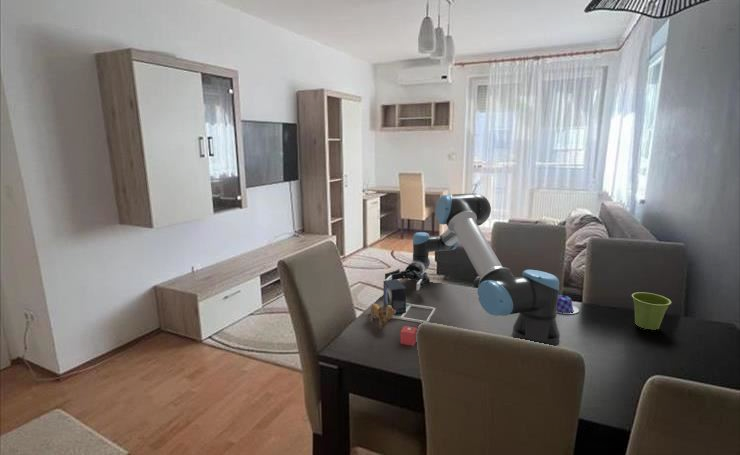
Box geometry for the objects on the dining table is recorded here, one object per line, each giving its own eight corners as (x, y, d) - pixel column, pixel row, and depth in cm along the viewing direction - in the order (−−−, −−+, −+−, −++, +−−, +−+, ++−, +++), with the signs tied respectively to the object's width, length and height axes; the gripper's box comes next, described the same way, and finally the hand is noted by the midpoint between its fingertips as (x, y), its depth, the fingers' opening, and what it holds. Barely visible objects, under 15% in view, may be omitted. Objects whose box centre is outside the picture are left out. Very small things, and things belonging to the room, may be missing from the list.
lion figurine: (397, 328, 148) (398, 305, 146) (386, 332, 145) (386, 309, 143) (372, 315, 159) (372, 293, 157) (361, 318, 156) (361, 296, 154)
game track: (435, 309, 165) (435, 307, 164) (427, 323, 152) (427, 321, 152) (387, 302, 172) (387, 300, 172) (375, 315, 159) (375, 313, 159)
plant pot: (620, 324, 152) (624, 295, 149) (639, 318, 157) (643, 290, 155) (654, 337, 141) (659, 307, 139) (673, 330, 147) (678, 300, 144)
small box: (382, 304, 168) (382, 280, 165) (397, 302, 169) (397, 278, 167) (390, 314, 158) (391, 289, 155) (406, 312, 159) (407, 287, 157)
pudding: (583, 316, 159) (585, 303, 158) (552, 315, 160) (553, 302, 159) (571, 304, 171) (572, 292, 170) (541, 303, 172) (543, 291, 171)
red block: (416, 340, 139) (417, 326, 138) (413, 346, 135) (413, 331, 134) (404, 337, 141) (404, 324, 140) (400, 343, 137) (400, 329, 136)
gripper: (441, 281, 187) (430, 297, 167) (389, 274, 195) (373, 289, 176) (441, 265, 185) (431, 280, 166) (389, 259, 194) (373, 272, 175)
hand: (401, 285), depth 171 cm, fingers open, 13 cm apart
